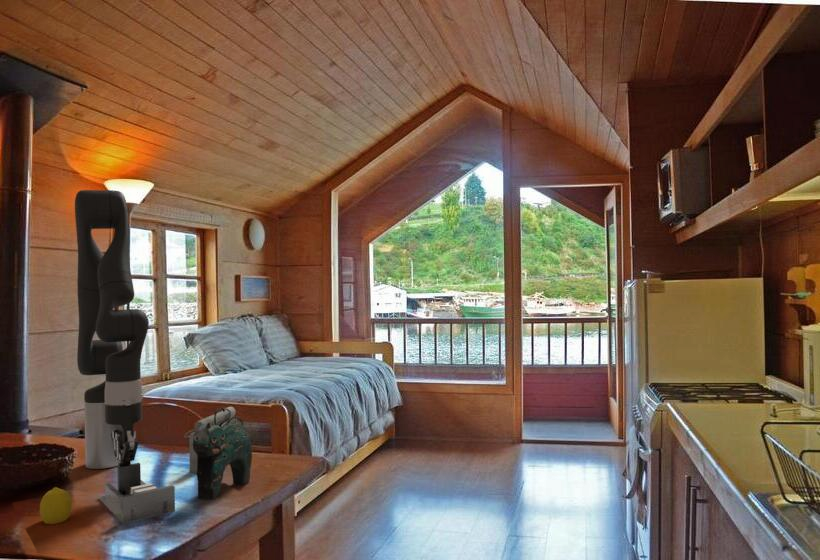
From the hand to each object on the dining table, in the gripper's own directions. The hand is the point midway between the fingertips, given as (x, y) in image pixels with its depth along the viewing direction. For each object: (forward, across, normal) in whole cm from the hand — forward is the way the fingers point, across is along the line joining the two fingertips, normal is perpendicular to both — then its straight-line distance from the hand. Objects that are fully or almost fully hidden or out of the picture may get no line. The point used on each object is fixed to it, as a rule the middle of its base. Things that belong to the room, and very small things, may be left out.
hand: (124, 478), depth 140 cm
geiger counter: (+6, -15, +27) cm, 31 cm away
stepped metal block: (+3, +7, 0) cm, 8 cm away
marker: (+4, +14, 0) cm, 14 cm away
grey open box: (+5, +7, 0) cm, 9 cm away
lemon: (+5, +6, -15) cm, 17 cm away
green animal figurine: (+5, +9, +19) cm, 22 cm away
